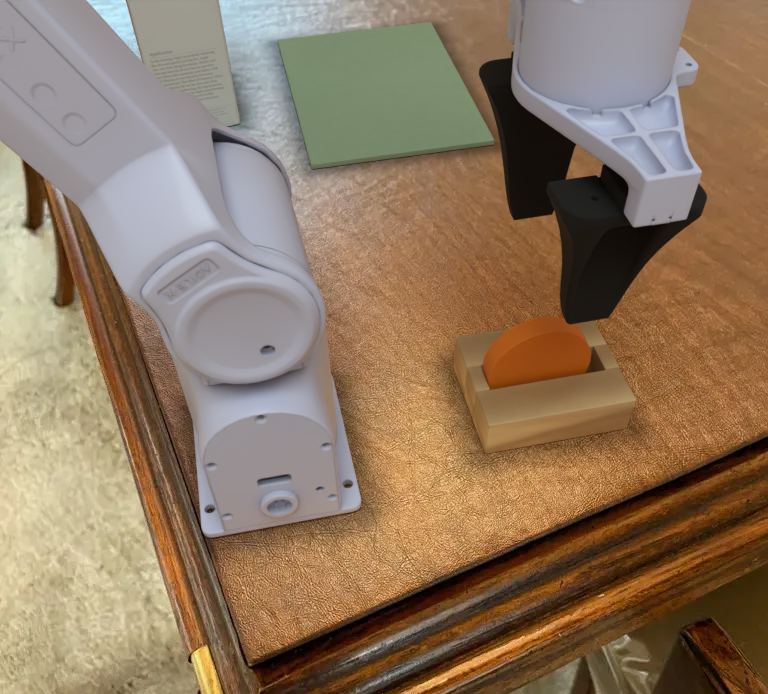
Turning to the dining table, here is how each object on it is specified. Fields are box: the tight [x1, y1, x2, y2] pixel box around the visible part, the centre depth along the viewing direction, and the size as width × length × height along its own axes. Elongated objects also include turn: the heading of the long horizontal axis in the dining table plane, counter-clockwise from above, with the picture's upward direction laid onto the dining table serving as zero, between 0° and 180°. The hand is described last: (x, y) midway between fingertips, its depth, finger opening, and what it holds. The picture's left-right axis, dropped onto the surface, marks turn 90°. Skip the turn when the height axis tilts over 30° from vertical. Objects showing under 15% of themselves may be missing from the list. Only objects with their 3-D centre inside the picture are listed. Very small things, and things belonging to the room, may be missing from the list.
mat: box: [277, 21, 495, 170], centre depth 65 cm, size 20×14×1 cm
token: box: [483, 315, 591, 390], centre depth 42 cm, size 1×6×6 cm, turn 102°
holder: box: [452, 320, 637, 455], centre depth 44 cm, size 7×8×2 cm
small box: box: [125, 0, 241, 127], centre depth 59 cm, size 8×6×13 cm
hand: (556, 261), depth 37 cm, fingers open, 7 cm apart
